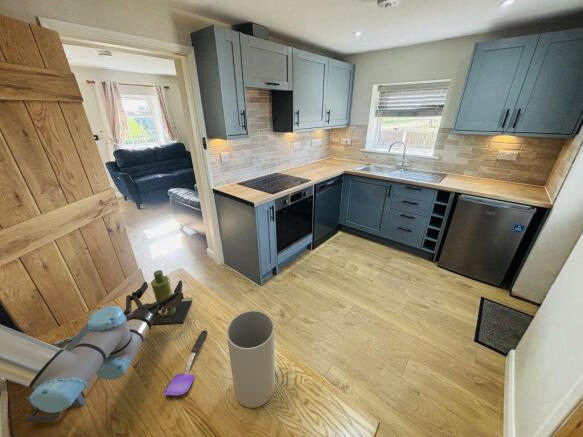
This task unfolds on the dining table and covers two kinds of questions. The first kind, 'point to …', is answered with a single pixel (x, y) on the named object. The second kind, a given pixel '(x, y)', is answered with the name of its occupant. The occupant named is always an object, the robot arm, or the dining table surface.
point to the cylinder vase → (252, 357)
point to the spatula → (184, 381)
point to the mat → (175, 315)
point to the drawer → (54, 416)
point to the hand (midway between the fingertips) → (164, 283)
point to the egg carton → (63, 342)
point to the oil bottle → (162, 289)
